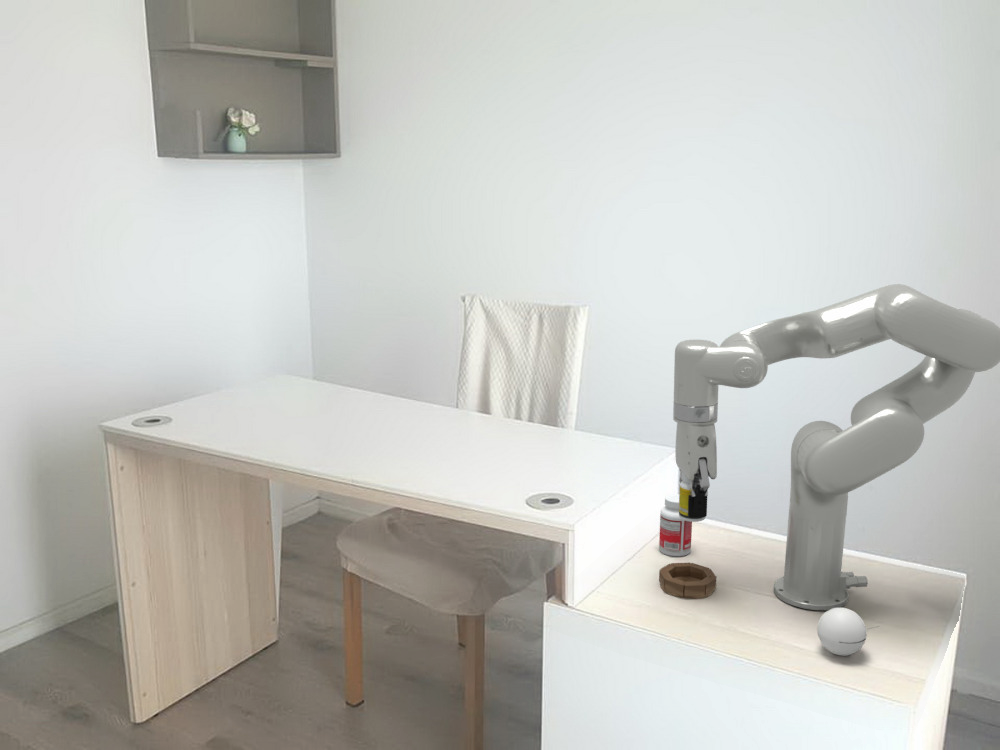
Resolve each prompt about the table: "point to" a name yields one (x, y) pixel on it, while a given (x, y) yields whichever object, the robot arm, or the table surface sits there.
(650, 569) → the table surface
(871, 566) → the table surface
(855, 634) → the white sphere
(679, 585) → the holder
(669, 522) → the pill bottle
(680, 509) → the supplement bottle
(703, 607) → the table surface
